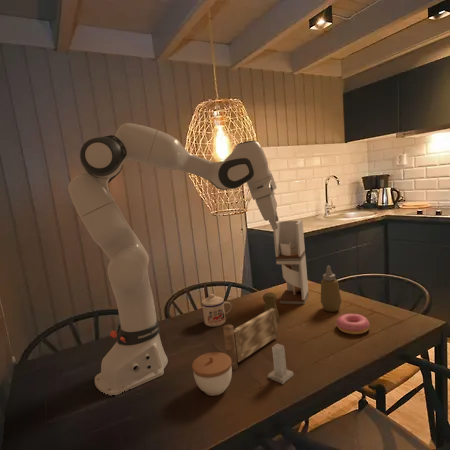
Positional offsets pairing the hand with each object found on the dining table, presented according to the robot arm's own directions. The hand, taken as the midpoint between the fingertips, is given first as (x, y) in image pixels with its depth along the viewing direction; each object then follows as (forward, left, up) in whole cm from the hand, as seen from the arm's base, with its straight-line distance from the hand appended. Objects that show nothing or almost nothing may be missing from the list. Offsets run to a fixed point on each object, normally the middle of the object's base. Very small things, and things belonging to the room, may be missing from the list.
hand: (276, 225), depth 111 cm
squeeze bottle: (+25, -4, -39) cm, 47 cm away
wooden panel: (-16, 0, -38) cm, 41 cm away
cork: (+4, +10, -39) cm, 41 cm away
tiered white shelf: (+27, +15, -39) cm, 50 cm away
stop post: (-23, -14, -39) cm, 47 cm away
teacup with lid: (-8, +28, -39) cm, 49 cm away
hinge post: (-28, 0, -39) cm, 48 cm away
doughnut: (+14, -18, -39) cm, 46 cm away
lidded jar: (-38, -3, -39) cm, 54 cm away
